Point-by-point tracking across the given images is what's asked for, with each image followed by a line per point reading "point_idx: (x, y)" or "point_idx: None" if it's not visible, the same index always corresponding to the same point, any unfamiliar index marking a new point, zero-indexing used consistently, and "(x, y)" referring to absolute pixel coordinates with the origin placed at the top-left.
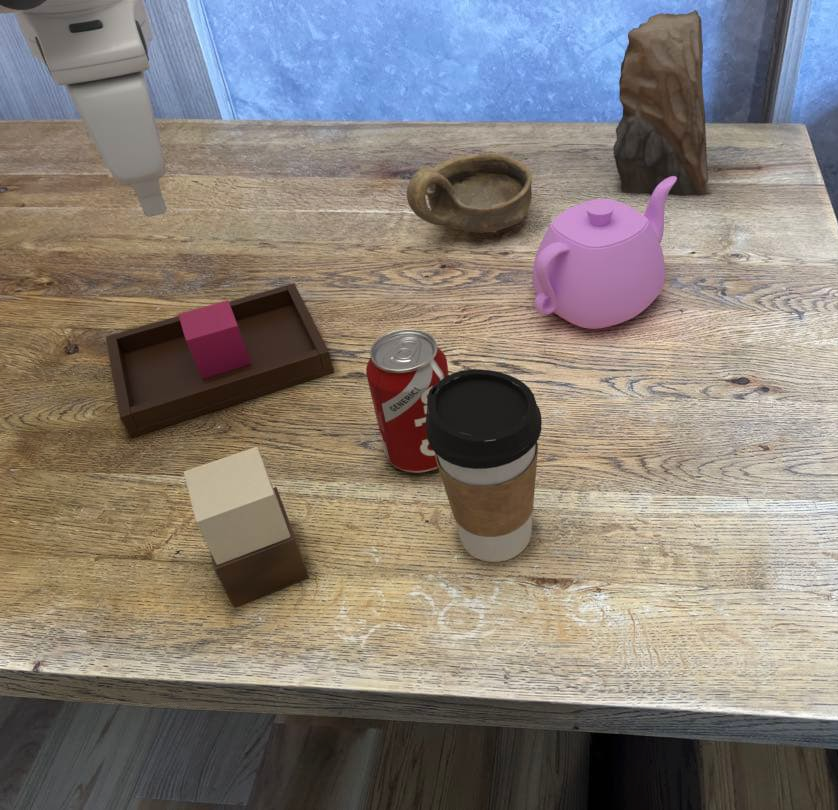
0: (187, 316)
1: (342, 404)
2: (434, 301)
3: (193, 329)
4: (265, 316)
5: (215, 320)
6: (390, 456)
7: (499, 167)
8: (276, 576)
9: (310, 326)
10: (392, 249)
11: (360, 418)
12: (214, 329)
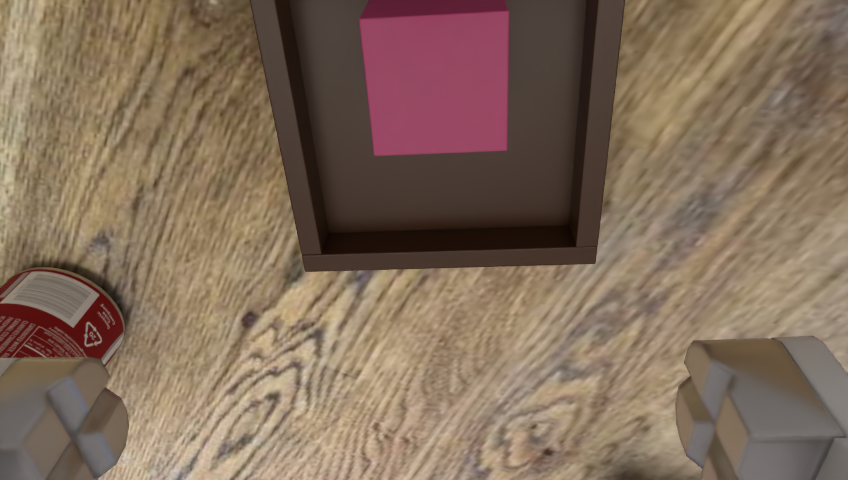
0: (479, 36)
1: (218, 233)
2: (453, 416)
3: (405, 45)
4: (556, 167)
5: (422, 107)
6: (10, 282)
7: None
8: None
9: (405, 260)
10: (661, 408)
11: (171, 249)
12: (380, 99)
